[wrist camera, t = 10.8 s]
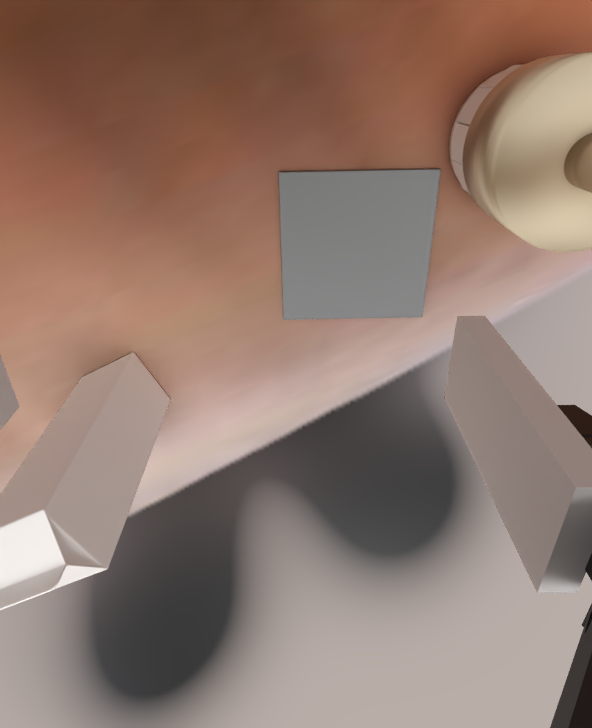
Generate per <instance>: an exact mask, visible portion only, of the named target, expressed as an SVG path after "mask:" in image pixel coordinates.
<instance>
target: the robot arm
mask: <svg viewBox="0 0 592 728" xmlns="http://www.w3.org/2000/svg"><path fill="white" fill-rule="evenodd" d="M444 398H445V400H446V402H447V405H448V407H449V409H450V411H451V413H452V415H453V417H454V419H455V421H456V423H457V426H458V428H459V430H460V432H461V434H462V436H463V438H464V440H465V442H466V445H467V447H468V449H469V451H470V453H471V455H472V457H473V459H474V461H475V463H476V466H477V468H478V470H479V472H480V474H481V476H482V478H483V480H484V482H485V484H486V487H487V488H488V491H489V493H490V495H491V497H492V499H493V501H494V503H495V505H496V508H497V510H498V512H499V514H500V516H501V518H502V520H503V522H504V524H505V526H506V528H507V530H508V533H509V535H510V537H511V539H512V541H513V543H514V545H515V547H516V549H517V552H518V554H519V556H520V558H521V560H522V562H523V564H524V566H525V568H526V570H527V572H528V574H529V577H530V579H531V581H532V583H533V585H534V587H535V589H536V591H537V593H563V592H564V593H566V592H578V589H579V587H580V585H581V582H582V580H583V578H584V575H585V573H586V572H587V574H588V575H589V577H590V579H591V580H592V416H591V415H590V414H588V413H587V412H585V411H583V410H582V409H580V408H579V407H577V406H576V405H556V403H555V402H554V401H553V400H552V399H551V397H550V396H549V395H548V394H547V392H546V391H545V390H544V389H543V387H542V386H541V385H540V384H539V382H538V381H537V380H536V379H535V377H534V376H533V375H532V374H531V373H530V371H529V370H528V369H527V368H526V366H525V365H524V364H523V363H522V361H521V360H520V359H519V358H518V356H517V355H516V354H515V353H514V351H513V350H512V349H511V348H510V347H509V345H508V344H507V343H506V342H505V340H504V339H503V338H502V337H501V335H500V334H499V333H498V332H497V330H496V329H495V328H494V327H493V326H492V324H491V323H490V322H489V321H488V319H487V318H486V317H485V316H457V322H456V328H455V334H454V340H453V346H452V353H451V359H450V365H449V371H448V377H447V384H446V390H445V396H444ZM18 408H19V404H18V401H17V399H16V396H15V393H14V391H13V388H12V385H11V382H10V380H9V377H8V374H7V372H6V369H5V366H4V364H3V361H2V358H1V356H0V430H1V429H2V427H3V426H4V425H5V424H6V423H7V421H8V420H9V419H10V418H11V416H12V415H13V414H14V413H15V412H16V410H17V409H18ZM582 626H583V627H584V629H583V632H582V635H581V638H580V641H579V644H578V647H577V650H576V653H575V656H574V659H573V662H572V665H571V668H570V671H569V674H568V677H567V679H566V682H565V685H564V688H563V691H562V695H561V697H560V700H559V703H558V706H557V709H556V712H555V715H554V718H553V721H552V724H551V727H550V728H592V604H591V606H590V608H589V611H588V613H587V615H586V617H585V619H584V621H583V623H582Z"/></svg>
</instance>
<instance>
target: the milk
mask: <svg viewBox="0 0 592 728" xmlns="http://www.w3.org/2000/svg"><path fill="white" fill-rule="evenodd" d="M169 403H170V398H169V397H168V395H167V394H166V393H165V392H164V390H163V389H162V388H161V386H160V385H159V384H158V383H157V381H156V380H155V379H154V377H153V376H152V375H151V374H150V372H149V371H148V370H147V368H146V367H145V366H144V365H143V363H142V362H141V361H140V359H139V358H138V357H137V356H136V354H135V353H134V352H132V353H130V354H128V355H126V356H124V357H122V358H120V359H118V360H116V361H114V362H112V363H110V364H108V365H106V366H104V367H102V368H100V369H98V370H96V371H94V372H91V373H89V374H87V375H85V376H83V377H82V378H81V379H80V381H79V382H78V383H77V385H76V386H75V388H74V389H73V391H72V392H71V394H70V395H69V396H68V398H67V399H66V401H65V402H64V404H63V405H62V407H61V408H60V409H59V411H58V412H57V414H56V415H55V417H54V418H53V419H52V421H51V422H50V424H49V425H48V427H47V428H46V430H45V431H44V432H43V434H42V435H41V437H40V438H39V440H38V441H37V443H36V444H35V445H34V447H33V448H32V450H31V451H30V453H29V454H28V455H27V457H26V458H25V460H24V461H23V463H22V464H21V466H20V467H19V468H18V470H17V471H16V473H15V474H14V476H13V477H12V478H11V480H10V481H9V483H8V484H7V486H6V487H5V489H4V490H3V491H2V493H1V494H0V610H2V609H4V608H7V607H10V606H12V605H15V604H17V603H20V602H23V601H26V600H28V599H31V598H33V597H36V596H39V595H42V594H44V593H47V592H49V591H52V590H53V589H56V588H58V587H61V586H64V585H66V584H69V583H72V582H74V581H77V580H80V579H82V578H85V577H87V576H90V575H93V574H96V573H98V572H101V571H104V570H106V569H107V568H108V567H109V564H110V561H111V558H112V556H113V553H114V550H115V548H116V545H117V542H118V540H119V537H120V534H121V532H122V529H123V526H124V524H125V521H126V518H127V516H128V513H129V510H130V508H131V505H132V502H133V499H134V497H135V494H136V491H137V489H138V486H139V483H140V481H141V478H142V475H143V473H144V470H145V467H146V465H147V462H148V459H149V456H150V454H151V451H152V448H153V446H154V443H155V440H156V438H157V435H158V432H159V430H160V427H161V424H162V421H163V419H164V416H165V413H166V411H167V408H168V405H169Z"/></svg>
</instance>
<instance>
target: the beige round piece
mask: <svg viewBox="0 0 592 728" xmlns="http://www.w3.org/2000/svg"><path fill="white" fill-rule="evenodd" d="M462 161H463V173H464V179H465V183H466V186H467V189H468V191H469V193H470V195H471V197H472V198H473V200H474V201H475V203H476V204H477V205H478V206H479V207H480V208H481V209H482V210H483V211H484V212H485V213H486V214H488V215H489V216H490V217H492V218H493V219H495V220H496V221H497V222H499V223H500V224H502V225H503V226H505V227H506V228H507V229H509V230H510V231H512V232H513V233H515V234H516V235H517V236H519V237H520V238H522V239H523V240H524V241H526V242H528V243H530V244H531V245H533V246H535V247H538V248H541V249H544V250H549V251H554V252H576V251H582V250H587V249H591V248H592V52H587V53H575V54H562V55H552V56H547V57H543V58H539V59H536V60H533V61H531V62H528V63H526V64H524V65H523V66H521V67H519V68H517V69H515V70H514V71H513V72H511V73H510V74H508V75H507V76H506V77H505V78H503V79H502V80H501V81H500V82H499V83H498V84H497V85H496V86H495V87H494V88H493V89H492V90H491V91H490V92H489V93H488V95H487V96H486V97H485V99H484V100H483V101H482V103H481V104H480V106H479V108H478V109H477V111H476V113H475V114H474V117H473V119H472V121H471V123H470V125H469V128H468V131H467V135H466V138H465V143H464V148H463V159H462Z"/></svg>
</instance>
